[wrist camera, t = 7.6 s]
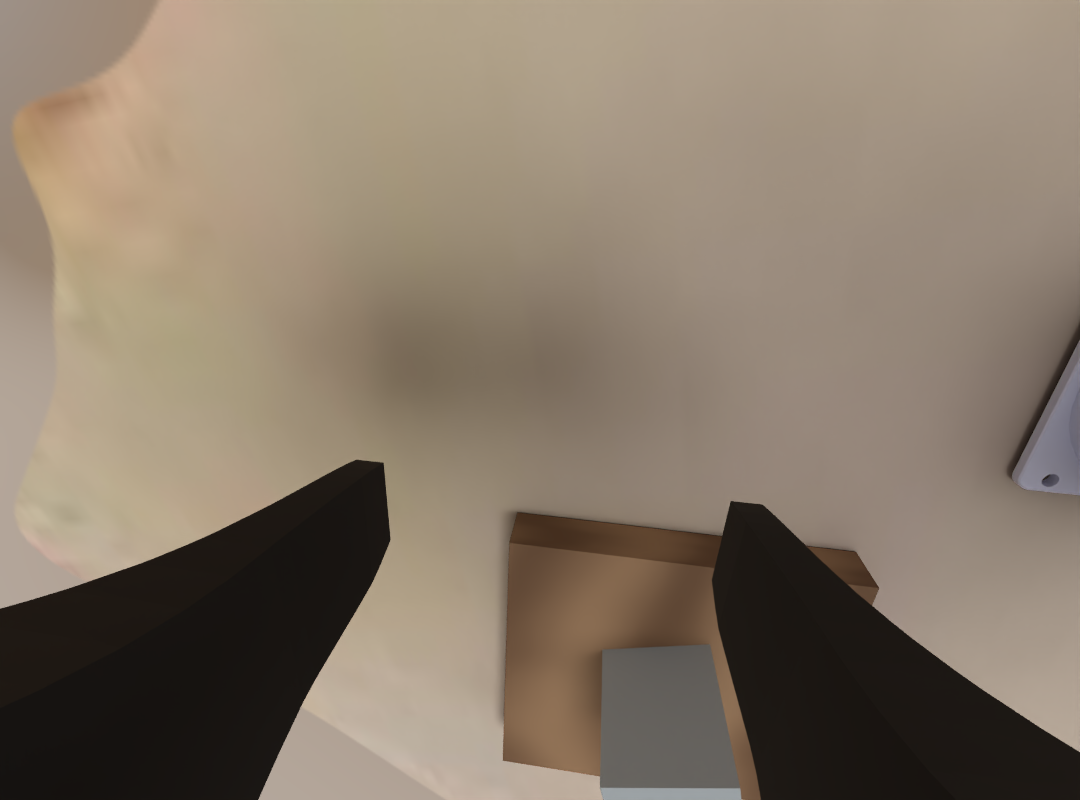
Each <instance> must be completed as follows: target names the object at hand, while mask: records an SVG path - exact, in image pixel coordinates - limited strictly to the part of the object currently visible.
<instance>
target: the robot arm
mask: <svg viewBox="0 0 1080 800" xmlns="http://www.w3.org/2000/svg"><path fill="white" fill-rule="evenodd" d="M1049 474H1050V476H1049V477H1048V478H1047V479H1045V480H1042V479H1043V478H1044V477H1045V476H1047V475H1049ZM1012 479H1013V481H1014V482H1015V483H1016V484H1018V485H1019V486H1020V487H1021V488H1023V489H1026V490H1033V491H1042V492H1052V493H1062V494H1071V495H1080V340H1079V342H1078V344H1077V346H1076V348H1075V350H1074V352H1073V354H1072V356H1071V358H1070V360H1069V362H1068V364H1067V366H1066V368H1065V370H1064V372H1063V374H1062V376H1061V378H1060V380H1059V382H1058V384H1057V386H1056V388H1055V390H1054V392H1053V394H1052V396H1051V398H1050V400H1049V402H1048V404H1047V406H1046V408H1045V410H1044V412H1043V414H1042V416H1041V418H1040V420H1039V422H1038V424H1037V426H1036V428H1035V430H1034V432H1033V434H1032V436H1031V438H1030V440H1029V441H1028V443H1027V445H1026V447H1025V449H1024V451H1023V453H1022V455H1021V457H1020V459H1019V461H1018V463H1017V465H1016V467H1015V469H1014V471H1013V474H1012ZM389 542H390V529H389V518H388V507H387V496H386V485H385V474H384V463H380V462H371V461H362V460H355V461H353V462H350V463H348V464H346V465H344V466H342V467H340V468H338V469H336V470H334V471H332V472H330V473H329V474H327V475H325V476H323V477H321V478H319V479H318V480H316V481H314V482H312V483H310V484H308V485H307V486H305V487H303V488H301V489H299V490H297V491H296V492H294V493H292V494H290V495H288V496H286V497H284V498H283V499H281V500H279V501H277V502H275V503H273V504H271V505H270V506H268V507H266V508H264V509H262V510H260V511H258V512H256V513H254V514H252V515H250V516H247V517H245V518H243V519H241V520H239V521H237V522H235V523H233V524H231V525H229V526H227V527H225V528H223V529H221V530H219V531H217V532H215V533H213V534H211V535H208V536H206V537H204V538H202V539H200V540H197V541H195V542H193V543H190V544H188V545H186V546H183V547H181V548H178V549H176V550H174V551H171V552H169V553H166V554H164V555H161V556H159V557H156V558H154V559H151V560H149V561H146V562H144V563H141V564H138V565H135V566H132V567H130V568H127V569H124V570H121V571H118V572H115V573H112V574H110V575H107V576H104V577H101V578H98V579H95V580H92V581H89V582H87V583H84V584H81V585H78V586H75V587H72V588H69V589H66V590H63V591H59V592H57V593H53V594H49V595H46V596H43V597H40V598H36V599H33V600H30V601H27V602H23V603H19V604H16V605H12V606H9V607H5V608H1V609H0V800H258V799H259V797H260V794H261V792H262V790H263V787H264V785H265V783H266V781H267V779H268V776H269V774H270V772H271V770H272V767H273V765H274V763H275V761H276V758H277V756H278V754H279V752H280V750H281V748H282V745H283V743H284V741H285V739H286V737H287V735H288V733H289V731H290V729H291V726H292V724H293V722H294V720H295V718H296V716H297V714H298V712H299V710H300V707H301V705H302V703H303V701H304V699H305V698H306V696H307V694H308V692H309V690H310V688H311V686H312V685H313V683H314V681H315V679H316V677H317V676H318V674H319V672H320V671H321V669H322V667H323V666H324V664H325V662H326V661H327V659H328V657H329V656H330V654H331V652H332V650H333V649H334V647H335V645H336V644H337V642H338V640H339V639H340V637H341V635H342V634H343V632H344V630H345V629H346V627H347V625H348V624H349V622H350V620H351V619H352V617H353V615H354V613H355V612H356V610H357V608H358V607H359V605H360V603H361V601H362V600H363V598H364V596H365V595H366V593H367V591H368V589H369V588H370V586H371V584H372V582H373V580H374V578H375V576H376V573H377V571H378V569H379V567H380V564H381V562H382V559H383V557H384V555H385V552H386V550H387V547H388V545H389ZM712 587H713V595H714V603H715V610H716V617H717V623H718V629H719V633H720V637H721V641H722V645H723V648H724V652H725V656H726V660H727V663H728V667H729V671H730V674H731V678H732V682H733V685H734V689H735V693H736V696H737V700H738V704H739V707H740V711H741V715H742V718H743V722H744V726H745V729H746V733H747V737H748V740H749V744H750V748H751V753H752V757H753V761H754V766H755V770H756V774H757V780H758V786H759V791H760V797H761V800H1080V752H1078V751H1077V750H1075V749H1074V748H1072V747H1070V746H1069V745H1067V744H1065V743H1064V742H1062V741H1061V740H1059V739H1057V738H1056V737H1054V736H1053V735H1051V734H1049V733H1048V732H1046V731H1044V730H1043V729H1041V728H1040V727H1038V726H1037V725H1035V724H1034V723H1032V722H1030V721H1029V720H1027V719H1026V718H1024V717H1023V716H1021V715H1020V714H1018V713H1017V712H1015V711H1014V710H1012V709H1011V708H1009V707H1008V706H1006V705H1005V704H1003V703H1002V702H1000V701H999V700H997V699H996V698H994V697H993V696H991V695H990V694H988V693H987V692H985V691H984V690H982V689H981V688H979V687H978V686H976V685H975V684H973V683H972V682H971V681H969V680H968V679H966V678H965V677H963V676H962V675H961V674H959V673H958V672H956V671H955V670H954V669H952V668H951V667H950V666H948V665H947V664H946V663H944V662H943V661H941V660H940V659H939V658H937V657H936V656H935V655H933V654H932V653H931V652H929V651H928V650H927V649H925V648H924V647H923V646H921V645H920V644H919V643H917V642H916V641H915V640H913V639H912V638H911V637H909V636H908V635H907V634H906V633H904V632H903V631H902V630H901V629H899V628H898V627H897V626H896V625H894V624H893V623H892V622H891V621H889V620H888V619H887V618H886V617H885V616H884V615H882V614H881V613H880V612H879V611H878V610H876V609H875V608H874V607H873V606H872V605H870V604H869V603H868V602H867V601H866V600H865V599H863V598H862V597H861V596H860V595H859V594H858V593H856V592H855V591H854V590H853V589H852V588H851V587H850V586H849V585H847V584H846V583H845V582H844V581H843V580H842V579H841V578H840V577H839V576H837V575H836V574H835V573H834V572H833V571H832V570H831V569H830V568H829V567H828V566H827V565H826V564H825V563H823V562H822V561H821V560H820V559H819V558H818V557H817V556H816V555H815V554H814V553H813V552H812V551H811V550H810V549H809V548H808V547H807V546H806V545H805V544H804V543H802V542H801V541H800V540H799V539H798V538H797V537H796V536H795V535H794V534H793V533H792V532H791V531H790V530H789V529H788V528H787V527H786V526H785V525H784V524H783V523H782V522H781V521H780V520H779V519H778V518H777V517H776V516H774V515H773V514H772V513H771V512H770V511H769V510H768V509H767V508H766V507H765V506H763V505H761V504H752V503H743V502H734V501H731V503H730V507H729V511H728V515H727V519H726V523H725V527H724V531H723V535H722V539H721V544H720V548H719V552H718V556H717V560H716V564H715V568H714V572H713V576H712Z"/></svg>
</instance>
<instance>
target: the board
mask: <svg viewBox="0 0 1080 800" xmlns="http://www.w3.org/2000/svg"><path fill="white" fill-rule="evenodd" d="M721 539H722V536H714V535H705V534H697V533H688V532H680V531H671V530H662V529H654V528H645V527H637V526H628V525H620V524H611V523H602V522H594V521H585V520H577V519H568V518H560V517H551V516H543V515H534V514H525V513H517V517H516V520H515V524H514V528H513V531H512V535H511V539H510V543H509V573H508V607H507V640H506V673H505V707H504V740H503V761H509V762H515V763H521V764H527V765H534V766H540V767H546V768H552V769H558V770H564V771H570V772H577V773H583V774H589V775H595V776H600V762H601V702H602V650H604V649H625V648H646V647H666V646H687V645H708V644H710V646H711V651H712V656H713V661H714V665H715V670H716V675H717V680H718V685H719V689H720V694H721V699H722V704H723V708H724V713H725V718H726V723H727V728H728V732H729V737H730V742H731V747H732V751H733V756H734V761H735V766H736V771H737V775H738V780H739V785H740V791H741V799H743V800H761V797H760V791H759V786H758V780H757V774H756V770H755V766H754V761H753V757H752V753H751V748H750V744H749V740H748V737H747V733H746V729H745V726H744V722H743V718H742V715H741V711H740V707H739V704H738V700H737V696H736V693H735V689H734V685H733V682H732V678H731V674H730V671H729V667H728V663H727V660H726V656H725V652H724V648H723V645H722V641H721V637H720V633H719V629H718V623H717V617H716V610H715V603H714V595H713V587H712V576H713V572H714V568H715V564H716V560H717V556H718V552H719V548H720V544H721ZM807 547H808V546H807ZM808 548H809V549H810V550H811V551H812V552H813V553H814V554H815V555H816V556H817V557H818V558H819V559H820V560H821V561H822V562H823V563H825V564H826V565H827V566H828V567H829V568H830V569H831V570H832V571H833V572H834V573H835V574H836V575H837V576H839V577H840V578H841V579H842V580H843V581H844V582H845V583H846V584H847V585H849V586H850V587H851V588H852V589H853V590H854V591H855V592H856V593H858V594H859V595H860V596H861V597H862V598H863V599H865V600H866V601H867V602H868V603H869V604H870V605H872V604H873V602H874V599H875V597H876V595H877V592H878V590H879V587H878V586H877V584H876V582H875V581H874V579H873V578H872V576H871V575H870V573H869V572H868V570H867V568H866V567H865V565H864V564H863V562H862V561H861V559H860V557H859V556H858V554H857V553H856V552H851V551H842V550H834V549H825V548H817V547H808Z"/></svg>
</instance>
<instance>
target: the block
mask: <svg viewBox="0 0 1080 800" xmlns="http://www.w3.org/2000/svg"><path fill="white" fill-rule="evenodd" d="M600 789H601V793H602V797H603V800H741V791H740V785H739V780H738V775H737V771H736V766H735V761H734V756H733V751H732V747H731V742H730V737H729V732H728V728H727V723H726V718H725V713H724V708H723V704H722V699H721V694H720V689H719V685H718V680H717V675H716V670H715V665H714V661H713V656H712V651H711V646H710V644H708V645H687V646H666V647H646V648H625V649H604V650H602V702H601V762H600Z"/></svg>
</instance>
